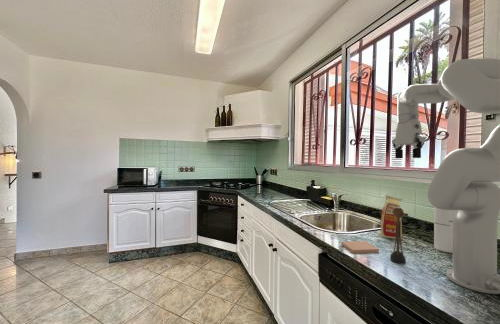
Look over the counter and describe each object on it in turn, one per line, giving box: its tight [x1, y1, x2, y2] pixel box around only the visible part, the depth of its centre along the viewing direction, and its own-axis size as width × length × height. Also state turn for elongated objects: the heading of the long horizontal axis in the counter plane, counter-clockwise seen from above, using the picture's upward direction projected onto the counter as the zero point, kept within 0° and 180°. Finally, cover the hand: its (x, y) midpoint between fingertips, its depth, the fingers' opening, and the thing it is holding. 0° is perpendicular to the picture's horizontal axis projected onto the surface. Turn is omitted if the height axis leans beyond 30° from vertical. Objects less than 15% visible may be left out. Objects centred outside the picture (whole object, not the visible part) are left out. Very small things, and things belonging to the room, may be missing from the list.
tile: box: [341, 240, 380, 254], centre depth 94 cm, size 9×2×11 cm
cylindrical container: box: [433, 206, 458, 254], centre depth 93 cm, size 7×7×25 cm
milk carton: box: [380, 194, 403, 240], centre depth 110 cm, size 9×9×20 cm
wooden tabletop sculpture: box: [389, 206, 409, 265], centre depth 82 cm, size 6×5×20 cm
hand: (407, 158), depth 98 cm, fingers open, 9 cm apart
